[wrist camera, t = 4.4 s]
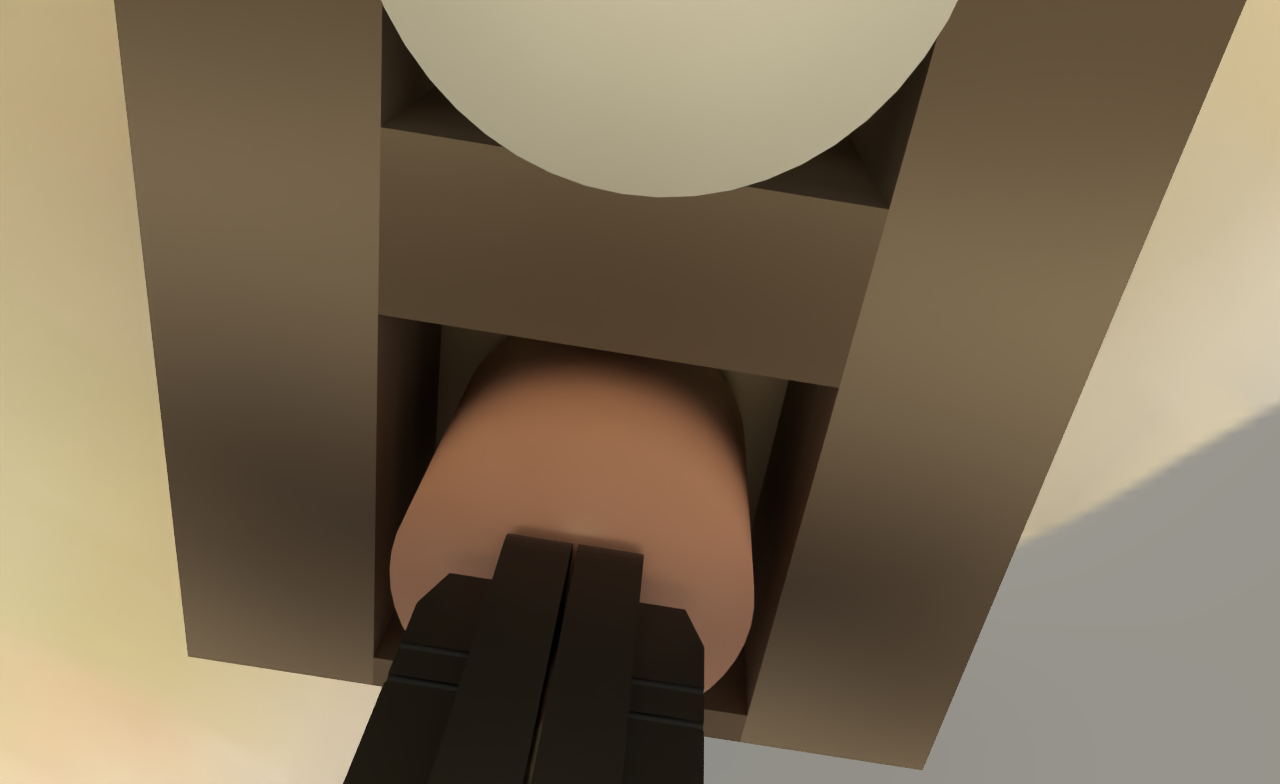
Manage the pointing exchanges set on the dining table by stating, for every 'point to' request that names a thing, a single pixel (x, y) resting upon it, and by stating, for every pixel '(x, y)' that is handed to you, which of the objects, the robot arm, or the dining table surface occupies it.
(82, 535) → the dining table surface
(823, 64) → the cream pill shape
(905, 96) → the frame
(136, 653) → the dining table surface
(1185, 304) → the dining table surface
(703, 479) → the terracotta button
